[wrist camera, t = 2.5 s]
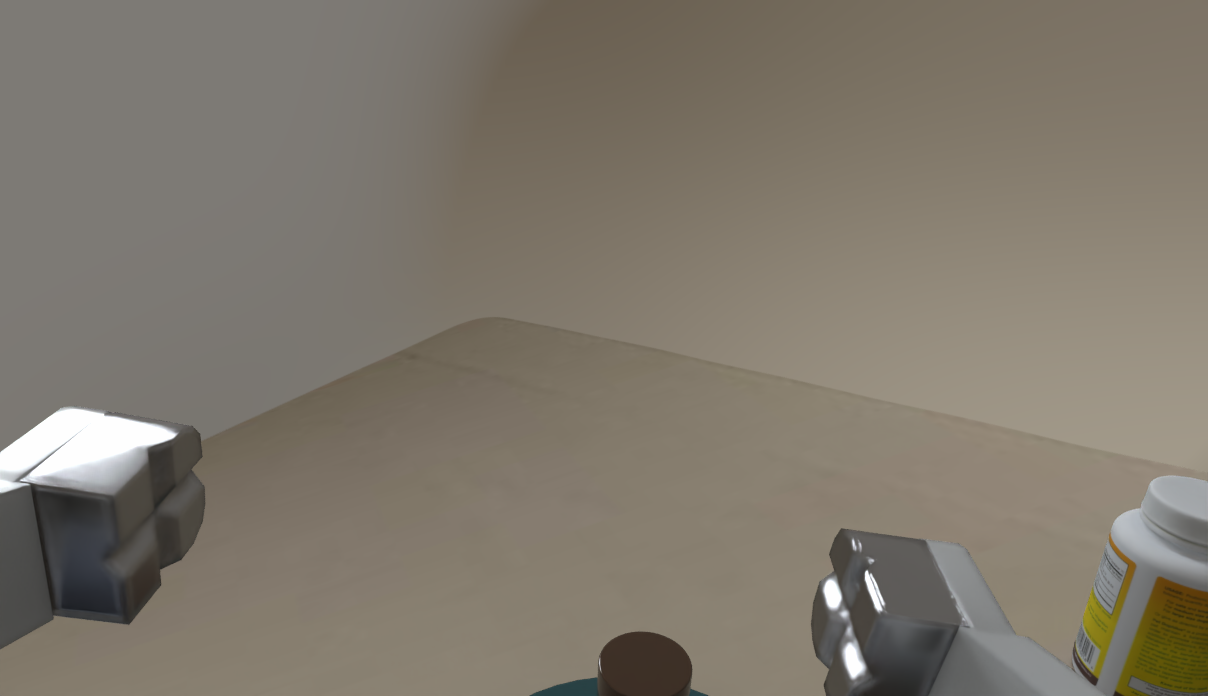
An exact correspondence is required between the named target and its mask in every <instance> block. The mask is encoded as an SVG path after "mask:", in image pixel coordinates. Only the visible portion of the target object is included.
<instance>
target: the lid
mask: <svg viewBox="0 0 1208 696" xmlns="http://www.w3.org/2000/svg"><path fill="white" fill-rule="evenodd" d="M691 679H692V664H691V661H690V658H689V656H688V655H687V653H686V651H685V650H684V649H683V648H682V647H681V646H680V645H679V644H677V643H676V642H675V641H673V640H671V639H670V638H667V637H665V636H663V635H660V634H656V633H651V632H630V633H626V634H623V635H620V636H618V637H616V638H614V639H612V640H611V641H610V642H608V643H607V644H606V646H605V647H604V648H603V650H602V651H601V653H600V656H599V661H598V677H597V678H590V679H583V680H576V681H572V682H568V683H564V684H560V685H556V686H553V687H550V688H547V689H545V690H542V691H539V692H536V693H534V694H532V695H530V696H708V695H706V694H703V693H701V692H698V691H695V690H692V689H690V688H691Z"/></svg>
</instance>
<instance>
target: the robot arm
mask: <svg viewBox="0 0 1208 696" xmlns="http://www.w3.org/2000/svg"><path fill="white" fill-rule="evenodd" d="M202 457H203V456H202V446H201V437H200V433H199V432H198V431H197V430H196V429H195V428H194V427H193V426H189V425H183V424H178V423H172V422H167V421H161V420H155V419H149V418H143V417H138V416H133V415H127V414H121V413H116V412H115V413H112V412H109V411H104V410H97V409H91V408H84V407H78V406H72V407H62V408H61V409H60V410H58V411H57V412H56V413H54V414H53V415H51V416H50V417H49V418H47V419H46V420H45V421H43V422H42V423H40V424H39V425H38V426H37V427H35V428H34V429H32V430H31V431H29V432H28V433H27V434H25V435H24V436H22V437H21V438H20V439H18V440H17V441H15V442H14V443H13V444H11V445H10V446H9V447H7V448H6V449H4V450H3V451H2V452H0V649H2V648H3V647H5V646H7V645H9V644H11V643H12V642H14V641H16V640H18V639H19V638H21V637H23V636H25V635H27V634H28V633H30V632H32V631H34V630H35V629H37V628H39V627H41V626H43V625H44V624H46V623H48V622H50V621H51V620H53V618H54V617H53V615H54V616H62V617H70V618H78V619H86V620H95V621H103V622H111V623H119V624H128V625H129V624H130V623H131V622H132V621H133V619H134V618H135V617H136V616H137V614H138V613H139V612H140V611H141V609H142V608H143V607H144V606H145V604H146V603H147V602H148V601H149V600H150V598H151V597H152V596H153V595H154V593H155V592H156V591H157V590H158V588H159V587H160V586H161V576H160V569H163V568H165V567H167V566H169V565H171V564H173V563H176V562H178V561H180V560H182V558H183V557H184V556H185V554H186V553H187V552H188V550H189V549H190V548H191V546H192V545H193V544H194V542H195V539H196V537H197V534H198V532H199V529H200V527H201V524H202V522H203V516H204V509H205V486H204V485H203V484H202V483H201V481H200V480H199V479H198V478H197V476H196V475H195V474H194V472H193V471H192V470H191V469H192V468H193V467H194V466H195V465H196V464H197V462H198V461H199V460H200V459H201V458H202ZM829 555H830V558H831V562H832V565H833V568H834V571H833V572H832V573H831V574H829V575H828V576H827V577H825V578H824V579H822V580H821V581H820V582H819V585H818V589H817V592H816V595H815V598H814V602H813V610H812V620H811V629H812V641H813V645H814V649H815V653H816V657H817V658H818V659H819V660H820V661H821V662H822V663H823V664H824V665H825V666H826V667H827V668H828V669H829V671H828V674H827V677H826V680H825V683H824V689H825V692H826V696H1107V695H1106V694H1105V693H1103V692H1102V691H1101V690H1099V689H1098V688H1097V687H1095V686H1094V685H1093V684H1091V683H1090V682H1089V681H1087V680H1086V679H1084V678H1083V677H1082V676H1080V675H1079V674H1078V673H1076V672H1075V671H1074V670H1072V669H1071V668H1070V667H1068V666H1067V665H1066V664H1064V663H1063V662H1062V661H1060V660H1059V659H1058V658H1056V657H1055V656H1053V655H1052V654H1051V653H1049V652H1048V651H1047V650H1045V649H1044V648H1043V647H1041V646H1040V645H1039V644H1037V643H1036V642H1035V641H1033V640H1032V639H1031V638H1029V637H1023V636H1017V635H1016V633H1015V632H1014V630H1013V628H1012V626H1011V625H1010V623H1009V621H1008V620H1007V618H1006V616H1005V614H1004V613H1003V611H1002V609H1001V607H1000V606H999V604H998V602H997V601H996V599H995V597H994V595H993V594H992V592H991V590H990V588H989V587H988V585H987V583H986V581H985V580H984V578H983V576H982V575H981V573H980V571H979V569H978V568H977V566H976V564H975V562H974V561H973V559H972V557H971V555H970V554H969V552H968V550H967V549H966V548H964V547H963V546H962V545H960V544H959V543H952V542H944V541H935V540H927V539H913V538H906V537H899V536H892V535H885V534H878V533H871V532H863V531H856V530H849V529H842V528H841V530H840V531H839V533H838V534H837V535H836V537H835V539H834V542H833V544H832V547H831V550H830V553H829Z"/></svg>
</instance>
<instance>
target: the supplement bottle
mask: <svg viewBox="0 0 1208 696" xmlns="http://www.w3.org/2000/svg"><path fill="white" fill-rule="evenodd" d="M1072 662H1073V666H1074V669H1075V671H1076V673H1078V674H1079V675H1080V676H1082V677H1083V678H1084V679H1086V680H1087V681H1089V682H1090V683H1091V684H1093V685H1094V686H1095V687H1097V688H1098V689H1099V690H1101V691H1102V692H1103V693H1105V694H1106V695H1107V696H1208V482H1207V481H1204V480H1200V479H1195V478H1190V477H1183V476H1162V477H1158V478H1156V479H1154V480H1152V481H1151V483H1150V484H1149V487H1148V490H1147V493H1146V495H1145V498H1144V499H1143V501H1142V503H1141V508H1139V509H1134V510H1130V511H1127V512H1125V513H1123V514H1122V515H1120V516H1119V517H1118V518H1117V519H1116V520H1115V522H1114V524H1113V526H1112V529H1111V531H1110V534H1109V538H1108V541H1107V544H1106V547H1105V550H1104V553H1103V556H1102V559H1101V563H1100V566H1099V569H1098V572H1097V575H1096V578H1095V581H1094V584H1093V588H1092V591H1091V594H1090V597H1089V600H1088V603H1087V607H1086V610H1085V613H1084V616H1083V619H1082V622H1081V626H1080V629H1079V632H1078V635H1077V638H1076V641H1075V643H1074V648H1073V653H1072Z"/></svg>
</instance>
